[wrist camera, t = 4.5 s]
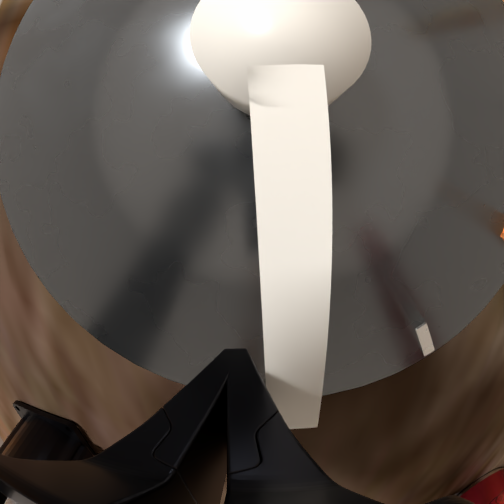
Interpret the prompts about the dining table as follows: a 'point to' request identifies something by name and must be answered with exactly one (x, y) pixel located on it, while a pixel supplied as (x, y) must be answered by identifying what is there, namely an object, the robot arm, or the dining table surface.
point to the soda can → (486, 489)
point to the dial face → (253, 184)
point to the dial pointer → (288, 164)
